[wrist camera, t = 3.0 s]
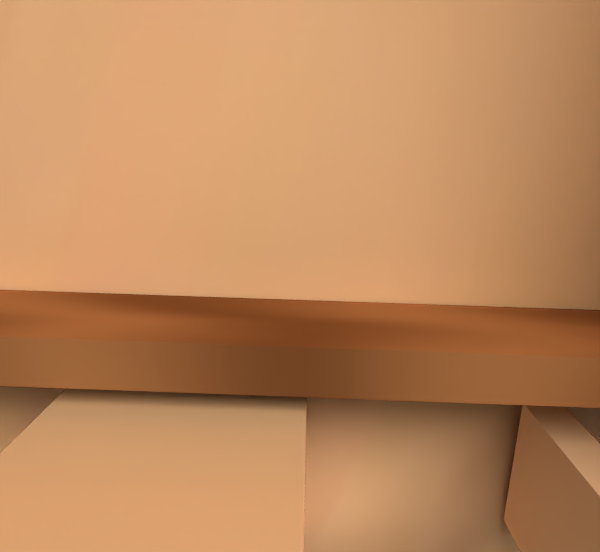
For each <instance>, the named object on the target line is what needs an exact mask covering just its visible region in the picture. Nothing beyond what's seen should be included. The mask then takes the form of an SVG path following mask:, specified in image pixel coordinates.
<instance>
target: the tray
mask: <svg viewBox="0 0 600 552" xmlns="http://www.w3.org/2000/svg"><path fill="white" fill-rule="evenodd" d="M0 386H15V387H42V388H69V389H97V390H124V391H151V392H178V393H206V394H233V395H260V396H287V397H314V398H342V399H369V400H396V401H423V402H450V403H478V404H505V405H532V406H559V407H586V408H600V310H573V309H544V308H515V307H485V306H456V305H427V304H398V303H368V302H339V301H310V300H281V299H251V298H222V297H193V296H163V295H134V294H105V293H76V292H46V291H17V290H0Z"/></svg>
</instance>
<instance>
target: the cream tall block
mask: <svg viewBox="0 0 600 552" xmlns="http://www.w3.org/2000/svg"><path fill="white" fill-rule="evenodd" d="M306 404H307V397H287V396H260V395H233V394H206V393H178V392H151V391H124V390H97V389H69V388H66V389H65V390H64V391H63V392H62V393H61V394H60V395H59V396H58V397H57V398H56V399H55V400H54V401H53V402H52V403H51V404H50V405H49V406H48V407H47V408H46V409H45V410H44V411H43V412H42V413H41V414H40V415H39V416H38V417H37V418H36V419H35V420H34V421H33V422H32V423H31V424H30V425H29V426H28V427H27V428H26V429H25V430H24V431H22V432H21V433H20V434H19V435H18V436H17V437H16V438H15V439H14V440H13V441H12V442H11V443H10V444H9V445H8V446H7V447H6V448H5V449H4V450H3V451H2V452H1V453H0V552H304V512H305V458H306Z"/></svg>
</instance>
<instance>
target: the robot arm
mask: <svg viewBox="0 0 600 552" xmlns="http://www.w3.org/2000/svg"><path fill="white" fill-rule="evenodd" d="M504 521H505V523H506V525H507V527H508V529H509V531H510V533H511V535H512V537H513V539H514V541H515V543H516V545H517V547H518V549H519V551H520V552H600V443H599V442H598V441H597V440H596V439H595V438H594V437H593V436H592V435H591V434H590V433H589V432H588V431H587V430H586V429H585V428H584V426H583V425H582V424H581V423H580V422H579V421H578V420H577V419H576V418H575V417H574V416H573V415H572V414H571V413H570V412H569V411H568V410H567V409H566V408H565V407H559V406H532V405H522V411H521V417H520V424H519V430H518V436H517V442H516V448H515V454H514V460H513V466H512V472H511V478H510V484H509V490H508V496H507V502H506V508H505V515H504Z"/></svg>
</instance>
